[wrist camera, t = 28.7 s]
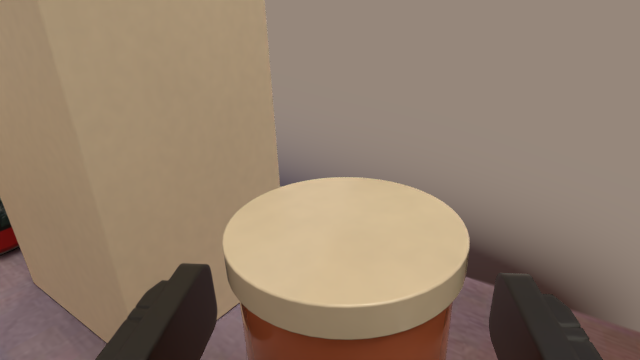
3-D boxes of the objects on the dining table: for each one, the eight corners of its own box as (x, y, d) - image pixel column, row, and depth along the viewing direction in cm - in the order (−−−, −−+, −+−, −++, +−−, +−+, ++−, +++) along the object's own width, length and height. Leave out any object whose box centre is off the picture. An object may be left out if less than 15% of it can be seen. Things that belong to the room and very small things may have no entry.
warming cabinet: (287, 266, 26) (258, -86, 18) (145, 376, 19) (-2, -134, 11) (171, 216, 33) (115, -58, 25) (33, 283, 25) (-108, -76, 18)
